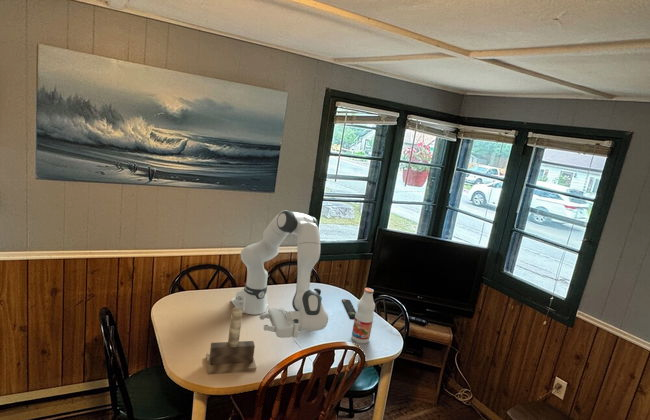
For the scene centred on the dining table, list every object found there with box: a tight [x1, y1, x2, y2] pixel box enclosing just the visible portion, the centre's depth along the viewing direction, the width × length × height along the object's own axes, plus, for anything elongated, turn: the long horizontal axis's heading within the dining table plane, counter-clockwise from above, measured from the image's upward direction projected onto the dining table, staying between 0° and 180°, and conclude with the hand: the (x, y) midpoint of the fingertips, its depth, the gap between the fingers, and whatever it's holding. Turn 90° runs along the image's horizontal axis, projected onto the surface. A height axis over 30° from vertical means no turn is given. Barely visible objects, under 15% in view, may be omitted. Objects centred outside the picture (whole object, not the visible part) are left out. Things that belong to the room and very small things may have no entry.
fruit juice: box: [351, 287, 376, 344], centre depth 213 cm, size 9×9×28 cm
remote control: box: [341, 298, 357, 320], centre depth 249 cm, size 5×24×1 cm, turn 10°
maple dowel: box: [227, 307, 243, 347], centre depth 175 cm, size 4×4×16 cm
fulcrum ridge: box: [205, 340, 257, 375], centre depth 177 cm, size 20×12×10 cm, turn 109°
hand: (261, 322), depth 178 cm, fingers open, 8 cm apart
